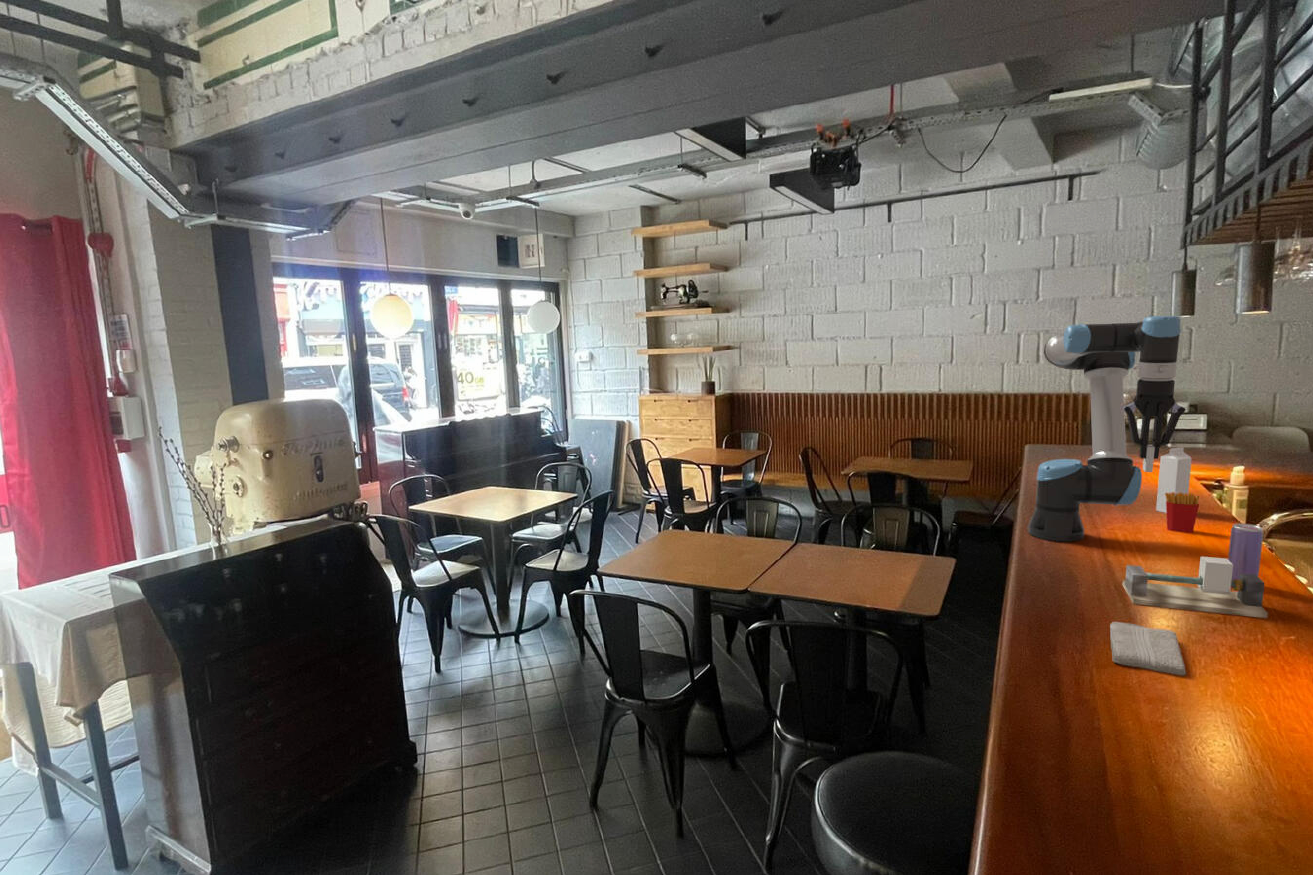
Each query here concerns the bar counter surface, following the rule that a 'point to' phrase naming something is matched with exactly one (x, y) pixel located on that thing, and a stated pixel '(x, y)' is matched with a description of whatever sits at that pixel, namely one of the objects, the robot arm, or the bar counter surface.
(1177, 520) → the french fries
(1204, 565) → the light grey cube
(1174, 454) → the milk
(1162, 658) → the washcloth
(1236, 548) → the beverage can
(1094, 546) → the bar counter surface
